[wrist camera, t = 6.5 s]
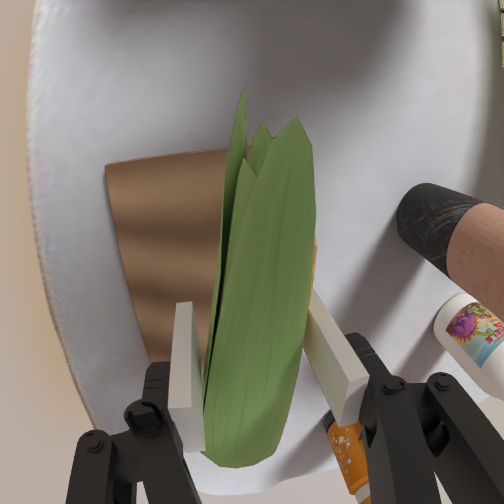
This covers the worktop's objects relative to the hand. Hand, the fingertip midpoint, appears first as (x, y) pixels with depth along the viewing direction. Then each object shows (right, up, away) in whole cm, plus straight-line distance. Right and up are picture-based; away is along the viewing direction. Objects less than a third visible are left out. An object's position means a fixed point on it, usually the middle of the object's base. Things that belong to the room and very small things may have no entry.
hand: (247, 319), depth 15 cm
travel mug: (+18, +7, +15) cm, 25 cm away
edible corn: (0, +1, +1) cm, 1 cm away
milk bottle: (+28, -6, +22) cm, 36 cm away
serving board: (-5, 0, +14) cm, 15 cm away
